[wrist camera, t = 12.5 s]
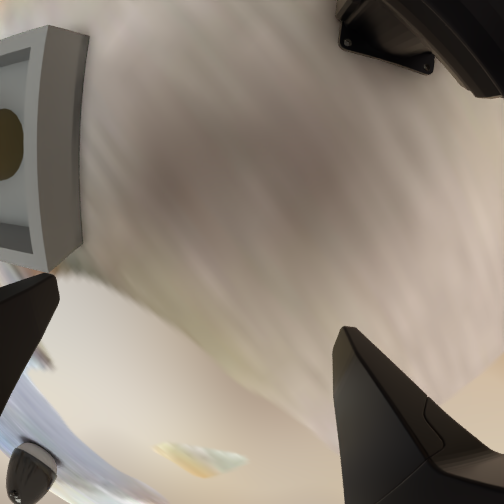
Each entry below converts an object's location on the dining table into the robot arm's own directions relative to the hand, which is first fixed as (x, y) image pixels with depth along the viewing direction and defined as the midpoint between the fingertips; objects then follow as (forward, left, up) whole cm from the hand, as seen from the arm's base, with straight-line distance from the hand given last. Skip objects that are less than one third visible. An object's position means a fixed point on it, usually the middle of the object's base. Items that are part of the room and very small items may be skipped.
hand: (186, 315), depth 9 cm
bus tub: (+20, -3, -13) cm, 24 cm away
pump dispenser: (+35, +54, -13) cm, 66 cm away
